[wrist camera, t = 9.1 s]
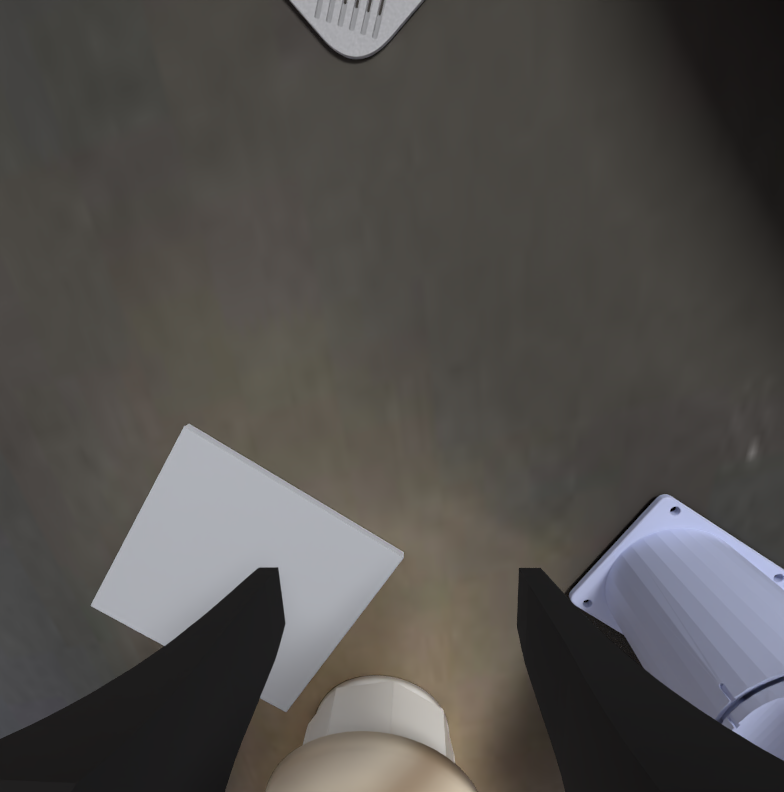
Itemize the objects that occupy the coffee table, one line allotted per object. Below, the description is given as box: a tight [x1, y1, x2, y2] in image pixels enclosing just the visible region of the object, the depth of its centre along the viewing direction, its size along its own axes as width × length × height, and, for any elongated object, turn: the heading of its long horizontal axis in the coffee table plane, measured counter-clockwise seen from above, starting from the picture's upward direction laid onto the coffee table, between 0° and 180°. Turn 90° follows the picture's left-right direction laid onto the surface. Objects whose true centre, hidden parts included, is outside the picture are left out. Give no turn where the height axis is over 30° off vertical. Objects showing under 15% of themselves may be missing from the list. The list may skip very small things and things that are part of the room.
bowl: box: [303, 675, 455, 763], centre depth 25 cm, size 9×9×5 cm
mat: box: [91, 424, 404, 712], centre depth 25 cm, size 14×14×1 cm
